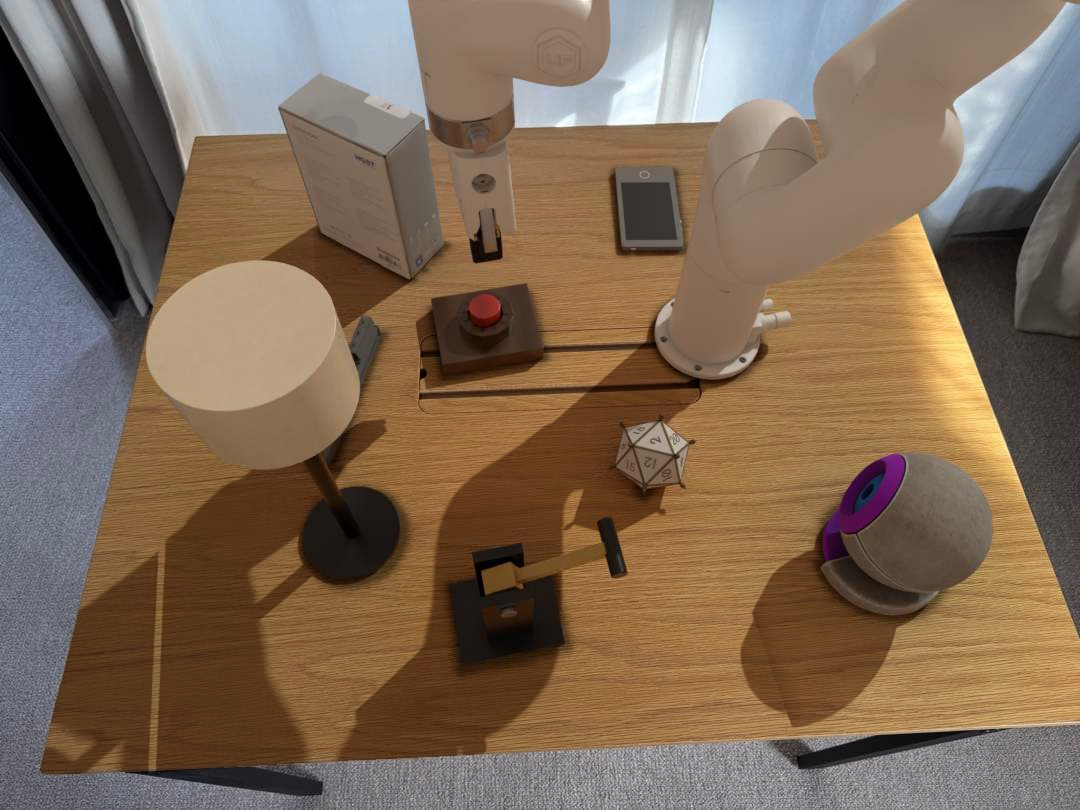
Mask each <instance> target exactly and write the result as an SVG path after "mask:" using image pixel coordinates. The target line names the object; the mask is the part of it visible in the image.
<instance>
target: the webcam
mask: <svg viewBox="0 0 1080 810" xmlns="http://www.w3.org/2000/svg"><path fill="white" fill-rule="evenodd" d="M993 536H994V520H993V515H992V510H991V507H990V505H989V502H988V499H987V497H986V495H985V493H984V492H983V491H982V488H981V487H980V485H978V484H977V482H976V481H975V480H974V479H973V478H972V477H971V475H969V473H967V472H966V471H964V470H963V469H962V468H961V467H959V466H957V465H956V464H955V463H953V462H951V461H948V460H946V459H944V458H942V457H939V456H936V455H932V454H929V453H924V452H904V453H894V454H887V455H886V456H883V457H880V458H877V459H876V460H875V461H873V462H871V463H869V464H868V465H866V466H865V467H864V468H863V469H862V470H861V471H860V472H859V473H858V474H857V475H856V476H855V478H854V479H853V480H852V481H851V482H850V484H849V486H848V487H847V488H846V490H845V492H844V494H843V496H842V499H841V502H840V505H839V508H838V509H837V510H836V511H835V513H834V514H833V515H832V516H831V517H830V518H829V520H828V521H827V523H826V525H825V527H824V530H823V534H822V551H823V556H824V559H825V563H823V564H822V565H821V566H820V569H821V572H822V573H823V575H824V577H825V578H826V579H827V581H828V583H830V585H831V586H832V587H833V588H834V589H835V590H836V592H838V593H839V595H841V596H842V597H843V598H845V599H846V600H847V601H849V602H850V603H851V604H853V605H855V606H857V607H859V608H861V609H863V610H866V611H869V612H871V613H875V614H879V615H884V616H900V615H901V616H902V615H907V614H911V613H914V612H917V611H919V610H921V609H922V608H924V607H925V606H927V605H928V604H929V603H931V602H932V601H933V600H934V599H935V598H936V597H937V596H938V594H939V593H940V592H941V591H944V590H948V589H950V588H953V587H955V586H957V585H959V584H961V583H963V582H964V581H966V580H968V579H969V578H970V577H971V576H973V574H975V572H977V571H978V570H979V568H980V567H981V566H982V564H983V563H984V561H985V560H986V558H987V556H988V554H989V553H990V552H989V551H990V548H991V546H992V541H993Z"/></svg>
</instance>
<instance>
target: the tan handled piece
mask: <svg viewBox="0 0 1080 810" xmlns="http://www.w3.org/2000/svg"><path fill="white" fill-rule="evenodd" d="M596 526H597V530H598V533H599V534H598V535H599V537H600V540H601V542H598V543H595V544H591V545H588V546H586V547H583V548H582V547H581V548H579V549H576V550H573V551H570V552H566V553H564V554H560V555H557V556H554V557H551V558H548V559H543V560H541V561H538V562H535V563H532V564H528V565H524V567H521V568H518V567H517V566H516V565H514V564H513V563H512V562H508V563H505V564H502V565H498V566H495V567H492V568H489V569H486V570H482V571H481V573H482V578H483V584H484V590H485V595H486V596H488V595H493V594H498V593H503V592H508V591H513V590H518V589H522V588H523V583H526V582H529V581H532V580H535V579H538V578H542V577H545V576H548V575H550V576H552V575H554V574H557V573H561V572H564V571H567V570H570V569H574V568H577V567H580V566H584V565H586V564H590V563H593V562H597V561H600V560H603V559H605V560H606V564H607V568H608V571H609V574H610V575H609V576H610V578H611V579H613V580H614V579H615V580H617V579H621V578H624V577H626V576H627V575H628V574H629V571H628V569H627V568H628V567H627V564H626V561H625V558H624V554H623V551H622V547H621V543H620V540H619V537H618V536H619V535H618V532H617V529H616V525H615V522H614V518H613V517H610V516H606V517H602V518H599V519H598V520H597V521H596Z"/></svg>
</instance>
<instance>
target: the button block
mask: <svg viewBox="0 0 1080 810" xmlns="http://www.w3.org/2000/svg"><path fill="white" fill-rule="evenodd" d="M482 294H488V295H492V296H494V297H495V298H496V299H497V300H498V301H499V303H500V312H501V316H500V319H499V321H498V322H497V323H496V324H495V325H493V326H491V327H479V326H477V325H475V324H474V323H473V322H472V320H471V318H470V311H469V304H470V302H471V301H472V299H473V298H475V297H476V296H478V295H482ZM430 302H431V308H432V314H433V320H434V325H435V331H436V332H435V333H436V337H437V342H438V343H437V344H438V348H439V355H440V360H441V361H440V362H441V367H442V371H443V375H444V376H447V375H453V374H454V375H455V374H458V373H466V372H470V371H477V370H483V369H487V368H494V367H500V366H506V365H511V364H512V365H513V364H517V363H523V362H529V361H536V360H541V359H544V357H545V355H544V352H545V351H544V350H545V347H544V344H543V339H542V335H541V331H540V327H539V324H538V321H537V317H536V313H535V308H534V305H533V301H532V297H531V294H530V290H529V285H528V283H527V282H525V283H518V284H512V285H507V286H501V287H494V288H489V289H488V288H487V289H481V290H476V291H469V292H463V293H462V292H461V293H457V294H450V295H444V296H438V297H432V298H430Z"/></svg>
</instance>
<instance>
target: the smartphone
mask: <svg viewBox="0 0 1080 810" xmlns="http://www.w3.org/2000/svg"><path fill="white" fill-rule="evenodd" d="M674 171H675V170H674V168H673V167H672V166H617V167H615V171H614V180H615V191H616V203H617V213H618V214H617V215H618V225H619V227H618V228H619V237H620V249H621V250H622V251H682V250H683V248H684V245H685V244H684V235H683V227H682V220H681V214H680V208H679V207H680V206H679V200H678V192H677V187H676V179H675V172H674Z"/></svg>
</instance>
